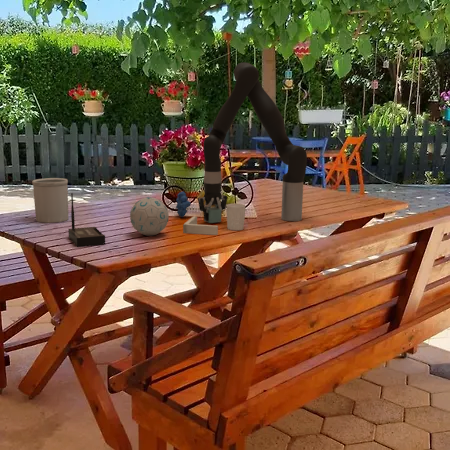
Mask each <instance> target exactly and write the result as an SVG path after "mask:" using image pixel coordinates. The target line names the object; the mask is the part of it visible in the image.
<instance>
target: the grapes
mask: <svg viewBox="0 0 450 450" xmlns="http://www.w3.org/2000/svg"><path fill="white" fill-rule="evenodd" d="M188 199H189V198H188V196H187V194H186V192H185V191H180V192H179V193H177V198H176V200H175V201H176V202H177V203H176V206H175V208H176V209H177V211H176V213H177V215H178V216H179V217H180V218H184V217H185V216H186V214H187V213H188V210H187V209H188V208H189V207H190V206H191V204H192V203H191V202H190V201H189V200H188Z"/></svg>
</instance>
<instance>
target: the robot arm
mask: <svg viewBox="0 0 450 450" xmlns="http://www.w3.org/2000/svg"><path fill="white" fill-rule="evenodd" d="M233 77H234V80H235V85H234V88H233V89H232V92H231V93H230V95H229V97H228V98H227V99H226V100H225V102H224V104H222V106H221V107H220V110H219V111H218V113H217V115H216V118H215V120H214V122H213V124H212V125H213V127H212V128H211V130H210V132H209V135H208V136H206V137H205V139H204V141H203V155H204V175H203V192H204V194H203V196H201V197H198V198H197V202H198V203H197V204H198V208H199V209H198V210H199V212H200V211H201V212H203V220H204V219H205V221H204V222H206V221H208V220H209V213H208V211H209V209H210V208H212V206H214V207H216V208H219V209H221V212H222V211H223V210H226V209H227V207H226V205H227V200H228V195H225V194H222V160H221V157H220V154H221V153H220V152H221V151H220V149H221V147H222V146H223V144H224V142H225V139H226V136H227V135H228V132H229V130H230V129H231V126H232V124H233V122H234V120H235V118H236V116H237V114H238V112H239V110H240V108H241V106H242V105H243V103H244V101H245V100H246V99H247V98H248V100H249V103H250V105H251V107H252V108H253V110H254V113H255V115H256V116H257V118H258V120H259V122H260V123H261V125H262V127H263V128H264V131H265V132H266V133H267V135H268V137H269V138H270V140H271V141H272V143H273V145H274V147H275V150H276V152H277V154H278V156H279V158H280V161H282V163H283V164H285V165H286V166H287V171H286V173H284V174H283V175H282V190H281V191H282V192H281V216H280V219H281V220H282V221H287V222H298V221H302V220H303V199H304V181H305V180H304V179H305V176H306V172H307V162H308V156H307V155H308V153H307V151H306V149H305V147H303V146H300V145H297V144H293V142H292V141H291V140H290V138H289V136H288V134H287V133H286V129H285V128H286V127H285V121H284V117H283V115H282V113H281V111H280V109H279V108H278V106H277V105H276V104H275V102H274V100H273V99H272V98H271V96H270V95H269V94H268V93H267V92H266V90H265V89H264V88H263V86H262V84H261V82H260V80H259V79H260V74H259V70H258V68H257V67H256V66H254V65H253V64H251V63H249V62H243V61H242V62H240V63H238V64H236V66H235V67H234V70H233Z"/></svg>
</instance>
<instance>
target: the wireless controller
mask: <svg viewBox="0 0 450 450" xmlns="http://www.w3.org/2000/svg"><path fill="white" fill-rule="evenodd" d="M70 195H71V196H70V197H71V211H70V212H71V214H70V216H71V228H68V231H67V232H68V238H69V240H71V242H72V243H73V245H75V246H76V248H81V247H84V248H85V247H94V246H95V245H96V246H104V244H105V245H106V234H104V233H102V232H101V231H100V230H99V229H98V228H97V227H96V226H88V227H87V226H86V227H76V226H75V223H76V222H75V211H74V210H75V208H74V197H73V195H74V193H73V192H71V193H70ZM96 246H95V247H96Z"/></svg>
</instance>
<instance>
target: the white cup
mask: <svg viewBox="0 0 450 450" xmlns="http://www.w3.org/2000/svg"><path fill="white" fill-rule="evenodd" d="M245 217H246V204H244V203H228V204H227V203H226V223H227V224H226V225H227V230H228V231H229V230H230V231H242V230H244V227H245Z"/></svg>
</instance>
